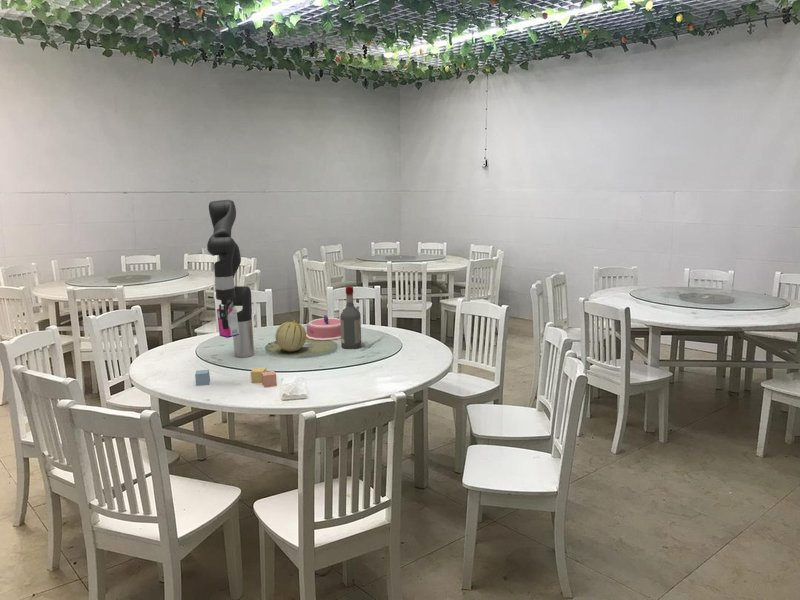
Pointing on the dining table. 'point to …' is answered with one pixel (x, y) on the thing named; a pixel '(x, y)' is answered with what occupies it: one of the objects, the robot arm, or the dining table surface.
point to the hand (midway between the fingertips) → (228, 326)
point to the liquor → (350, 323)
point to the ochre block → (257, 375)
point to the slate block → (202, 377)
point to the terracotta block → (269, 379)
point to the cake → (324, 329)
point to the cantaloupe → (290, 336)
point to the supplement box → (229, 324)
